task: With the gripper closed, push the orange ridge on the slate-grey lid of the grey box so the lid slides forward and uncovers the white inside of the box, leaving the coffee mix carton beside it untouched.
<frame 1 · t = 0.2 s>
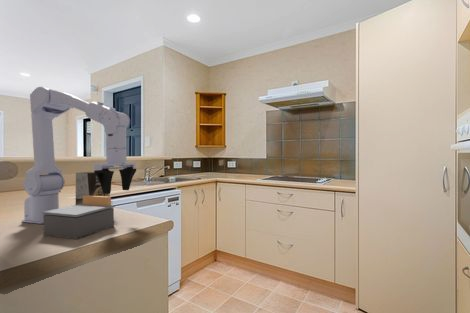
hand: (116, 191, 73), 10 cm above the counter, tool pointing down, fingers open, 7 cm apart
grey box: (80, 230, 67), on the counter
coffee box: (93, 217, 82), on the counter
box lid: (80, 204, 67), point 7 cm above the counter, slide at 0.0 cm
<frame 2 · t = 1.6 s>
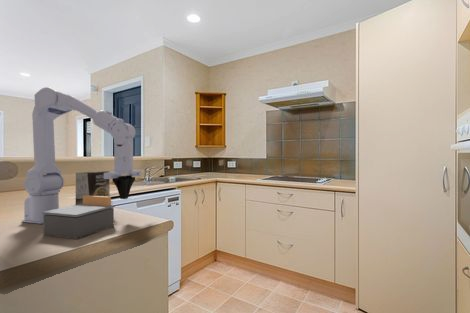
hand: (124, 198, 78), 7 cm above the counter, tool pointing down, fingers closed
nothing on the counter moved.
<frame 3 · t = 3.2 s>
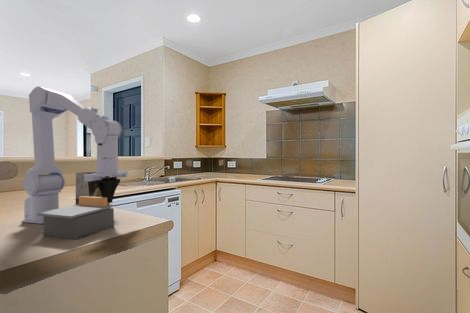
hand: (107, 202, 71), 7 cm above the counter, tool pointing down, fingers closed
box lid: (76, 205, 66), point 7 cm above the counter, slide at 1.3 cm, touching gripper
everything else where it was.
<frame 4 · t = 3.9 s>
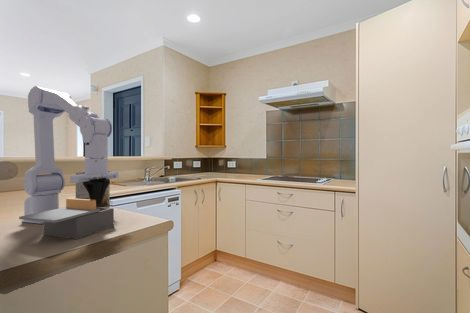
hand: (96, 205, 68), 7 cm above the counter, tool pointing down, fingers closed
box lid: (62, 208, 62), point 7 cm above the counter, slide at 5.3 cm, touching gripper
everything else where it was.
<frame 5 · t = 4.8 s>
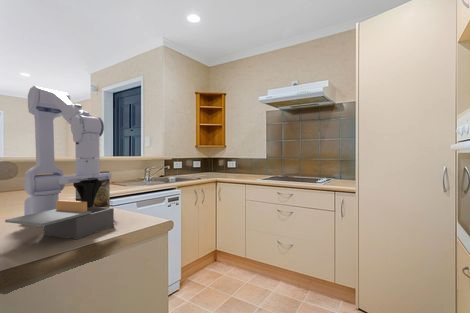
hand: (88, 207, 65), 7 cm above the counter, tool pointing down, fingers closed
box lid: (51, 211, 59), point 7 cm above the counter, slide at 8.1 cm, touching gripper
everything else where it was.
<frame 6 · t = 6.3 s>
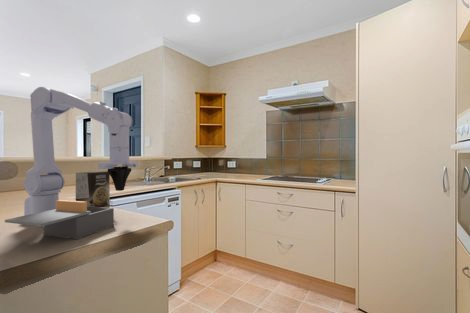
hand: (119, 190, 75), 10 cm above the counter, tool pointing down, fingers closed
box lid: (50, 211, 59), point 7 cm above the counter, slide at 8.2 cm
everything else where it was.
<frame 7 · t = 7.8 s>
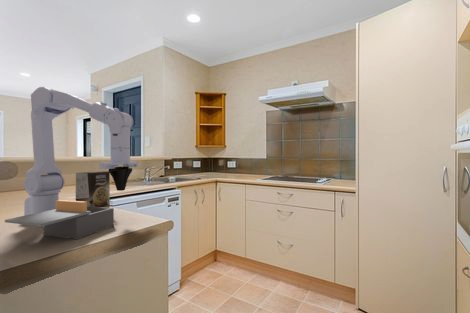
hand: (120, 190, 75), 10 cm above the counter, tool pointing down, fingers closed
nothing on the counter moved.
at the end: box lid slide at 8.2 cm; coffee box moved 0.2 cm from its start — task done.
